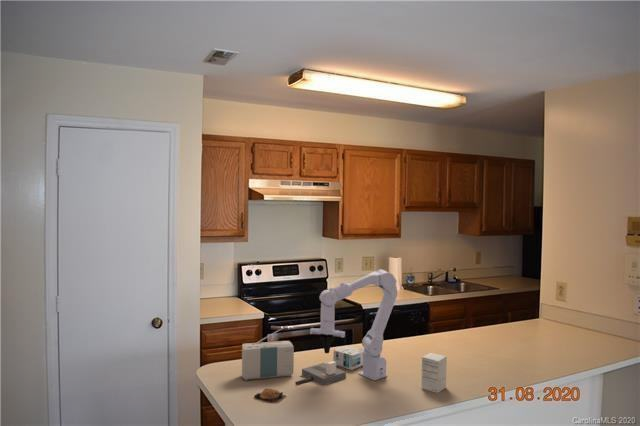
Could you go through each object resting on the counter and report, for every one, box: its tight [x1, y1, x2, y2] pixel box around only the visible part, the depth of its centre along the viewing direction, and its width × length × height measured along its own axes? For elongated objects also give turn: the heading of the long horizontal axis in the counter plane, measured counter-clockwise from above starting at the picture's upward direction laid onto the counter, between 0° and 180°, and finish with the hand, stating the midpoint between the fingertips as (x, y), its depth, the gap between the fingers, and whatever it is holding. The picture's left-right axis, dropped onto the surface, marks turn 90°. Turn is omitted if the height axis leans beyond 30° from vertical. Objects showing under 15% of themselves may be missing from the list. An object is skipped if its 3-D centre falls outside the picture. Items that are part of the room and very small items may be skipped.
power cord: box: [294, 377, 314, 386], centre depth 195 cm, size 1×8×1 cm, turn 130°
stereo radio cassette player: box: [241, 325, 295, 381], centre depth 201 cm, size 21×8×20 cm, turn 105°
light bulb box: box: [332, 345, 364, 371], centre depth 216 cm, size 11×7×11 cm
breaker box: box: [301, 362, 347, 386], centre depth 202 cm, size 14×12×2 cm
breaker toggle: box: [325, 360, 337, 375], centre depth 198 cm, size 2×4×4 cm, turn 130°
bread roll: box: [254, 388, 288, 404], centre depth 181 cm, size 11×8×4 cm
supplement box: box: [421, 352, 447, 394], centre depth 191 cm, size 7×7×13 cm
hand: (327, 352), depth 200 cm, fingers closed
